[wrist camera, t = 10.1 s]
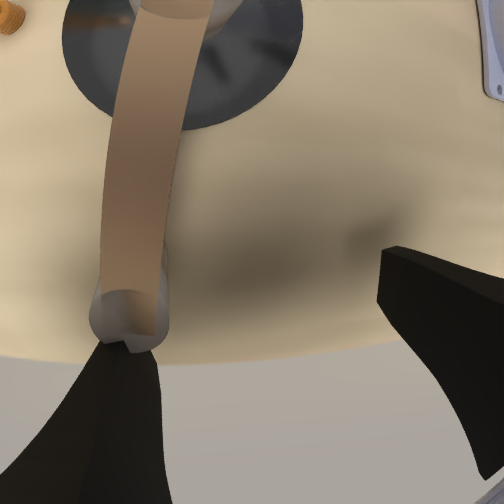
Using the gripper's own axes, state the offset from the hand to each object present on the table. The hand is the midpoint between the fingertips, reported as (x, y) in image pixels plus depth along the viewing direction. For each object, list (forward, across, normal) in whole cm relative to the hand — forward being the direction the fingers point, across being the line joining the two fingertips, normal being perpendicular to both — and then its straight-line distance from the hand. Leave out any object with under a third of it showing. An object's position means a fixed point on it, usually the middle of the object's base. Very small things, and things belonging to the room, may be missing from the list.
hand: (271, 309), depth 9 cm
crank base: (+2, +1, -9) cm, 9 cm away
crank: (+2, +1, -9) cm, 9 cm away
